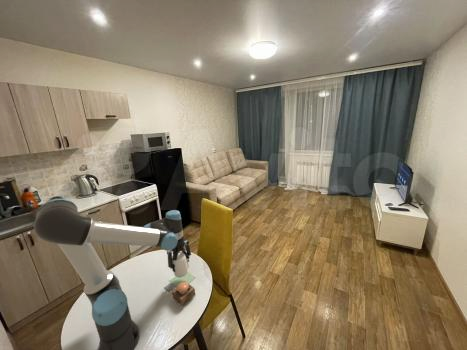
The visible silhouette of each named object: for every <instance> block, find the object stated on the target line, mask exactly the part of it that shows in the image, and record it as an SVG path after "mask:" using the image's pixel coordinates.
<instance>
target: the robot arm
mask: <svg viewBox="0 0 467 350" xmlns="http://www.w3.org/2000/svg"><path fill="white" fill-rule="evenodd" d="M181 216H182V215H181V212H180V211H179V210H177V209H173V210H169V211H167V212H166V213H165V217H163V218H161V219H158V220H155V221H152V222H149V223H147V224H145V225H143V226H138V225H137V226H136V225H128V224H120V223H114V222H113V223H111V222H104V221H96V220H94V219H93V217H89V216H84V215H81V214H80V213H79V211H78V206H77V205H76V203H74V202H73V201H72V200H69V199H66V198H53V199H50V200H48V201H46V202H44V203H43V204H41V206H40V207H39V208H38V209H37V211H36V214H35V220H34V223H33V231H34V233H35V235H36V236H37V237H38V238H39V239H41V240H42V241H44V242H47V243H51V244H55V245H58V246H59V248H60V250H61V251H62V253H63V254H64V255H65V257H66V258H67V260H68V261H69V263H70V265H71V266H72V267H73V269H74V270H75V272H76V273H77V275H78V277H79V278H80V279H81V281H82V282H83V284H84V287H83V293H84V294H85V296H86V297H87V299H88V301H90V304H91V317H92V320H93V322H94V324H95V328H96V331H97V333H98V338H99V343H98V350H135V348H136V347H137V345H138V343H139V340H140V336H141V335H140V334H141V333H140V329H139V326H138V325H137V324H136V322H135V321H133V319H132V317H131V312H130V307H129V304H128V298H127V295H126V293H125V292H124V291H123V289H122V287H121V284H120V281H119V278H118V277H117V276H116V275H115V274H114V272H113V271H112V270H110V269H109V270H108V269H106V267H105V265H104V263H103V262H102V260H101V258H100V257H99V255H98V252H97V251H96V250H95V248H94V246H93V245H92V244H101V245H103V244H104V245H118V246H119V245H122V246H139V247H156V248H161V249H162V250H164V251H166V255H167V267H168V268H169V269H172V272H173V273H174V272H175V265H174V264H173V263H172V260H174V261H175V260H176V259H177V255H178V253H179V252H183V253H184V254H185V256H186V261H187V265H188V269H189V268H190V266H189V265H190V264H189V262H190V258H191V257H190V256H192V252H191V248H190V241H188V240H186V239H185V237H184V231H183V224H182V223H183V222H182V217H181ZM172 256H173V257H172Z"/></svg>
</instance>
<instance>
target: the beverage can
mask: <svg viewBox="0 0 467 350" xmlns="http://www.w3.org/2000/svg"><path fill="white" fill-rule="evenodd" d="M172 257H173V255H172ZM172 263H173V264H174V265H175V272H173V274H174V277H175V276H176V277H183V276H185V275H186V274H187V273H188V272H189V268H188V265H189V264H188V265H187V261H186V256H185V254H184V253H183V252H182V251H180V252H179V253H178V255H177V259H176V260H175V261H174V260H172Z"/></svg>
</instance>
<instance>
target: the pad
mask: <svg viewBox="0 0 467 350" xmlns="http://www.w3.org/2000/svg"><path fill="white" fill-rule="evenodd" d="M196 278H197V277H196V276H195V275H194V274H191V273H190V272H189V271H188V273H187V274H186V275H185V276H183V277H176V276H175V275H174V277H173V278H171V279H170V280H169V283H172V284H173V285H175V287H176V288H177V286H178V285H179V284H180V283H182V282H184V281H185V282H187V283H188V284H189V285H190V283H191V282H193V281H194V280H195V279H196Z"/></svg>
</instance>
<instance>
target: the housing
mask: <svg viewBox="0 0 467 350" xmlns="http://www.w3.org/2000/svg"><path fill="white" fill-rule="evenodd" d="M184 282H185V281H184ZM188 285H189V288H188V291H187V292H186V293H185V294H184V295H183V296H182V295H180V293H179V292H178V291H177V287H176V288H175V287H174V288H173V289H172V291H171V294H172V299H173V300H174V301H175V302H177V303H178V304H179V305H180V306H181V307H184V306H185V305H186V304H187V303H189V301H191V299H193V298H194V297H195V296H196V288H195V287H194V286H192V285H191V284H190V283H189V284H188Z"/></svg>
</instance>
